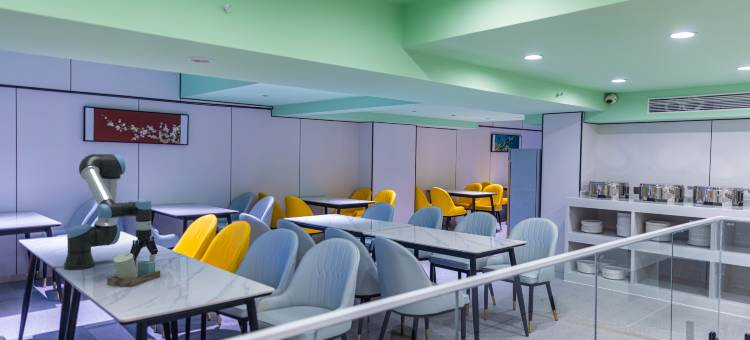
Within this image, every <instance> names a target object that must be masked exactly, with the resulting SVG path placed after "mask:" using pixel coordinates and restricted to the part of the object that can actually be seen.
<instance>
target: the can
mask: <svg viewBox="0 0 750 340" xmlns="http://www.w3.org/2000/svg"><path fill="white" fill-rule="evenodd" d="M113 263H114V268H115V271H116V275H117V276H118V279H128V280H132V279H135V278H137V277H138V274H137V270H136V266H135V262H134V257H133V254H132V253H130V252H126V253H125V252H124V253H120V254H117V255H116V256H115V257H114V258H113Z"/></svg>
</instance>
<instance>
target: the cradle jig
mask: <svg viewBox="0 0 750 340" xmlns="http://www.w3.org/2000/svg"><path fill="white" fill-rule="evenodd" d="M158 278H161V270H157V271H156V270H155V272H153V273H150V274H147V275H144V276H140V275H138V277H137V278H135V279H132V280H128V279H118V276H117V274H116V275H113V276H110V277H107V279H106V283H107V286H109V285H110V286H117V287H118V286H119V287H127V288H128V287H129V288H131V287H132V288H133V287H135V286H138V285H141V284H143V283H146V282H150V281H152V280H154V279H155V280H156V279H158Z"/></svg>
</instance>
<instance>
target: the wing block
mask: <svg viewBox="0 0 750 340" xmlns="http://www.w3.org/2000/svg"><path fill="white" fill-rule="evenodd" d="M153 272H156V261H155V262H152V261H150V260H138V272H137V274H138V275H140V276H144V275H147V274H150V273H153Z"/></svg>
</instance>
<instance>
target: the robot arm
mask: <svg viewBox="0 0 750 340" xmlns="http://www.w3.org/2000/svg"><path fill="white" fill-rule="evenodd" d="M78 172H79V175H80V177H81V178H82V180H84V181H85V182H86V183H87V186H88V188H89V190H90V192H91V194H92V196H93V198H94V199H95V201H96V203H97V206H96V215H97V220H96V221H94V224H93V226H92V225H91V224H87V223H86V224H79V225H74V226H71V227H69V228H68V230H67V236H66V237H67V255H66V257H65V262H64V263H63V269H65V270H85V269H91V268H94V267H95V260H94V258H93V257H94V256H93V253H92V248H96V247H102V246H111V245H115V244H117V243H118V241H119V240H120V238H121V237H120V236H121V229H120V226H119V225H118V224H117V223H118V222H117V221H116V220H115V218H116V219H117V218H126V217H127V218H129V217H135V229H136V230H135V237H136V239H133V240H132V245H131V247H130V248H131V249H130V250H129V251H130V252H129V253H132V254H133V257H134V262H135V266H136V270H137V272H138V261H139V260H138V257H139V254H140V253H141V251H142V249H144V248H146V249H147V251H148V252H149V261H152V262H155V263H156V255H157V254H158V252H159V250H158V247H157V244H156V241H155V236H152V201H151V200H150V199H145V198H144V199H140V198H139V199H136V200H135V201H128V202H117V200H116V199H117V190H118V189H117V187H118V181H119V180H120V179H121V176H122V175H124V174H125V172H126V162H125V159H124V158H123V156H122V155H120V154H116V153H115V154H114V153H105V154H104V153H101V154H99V153H98V154H97V153H92V154H88V155H87V156H85V157H84V158H82V159H81V161H80V163H79V165H78Z"/></svg>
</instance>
